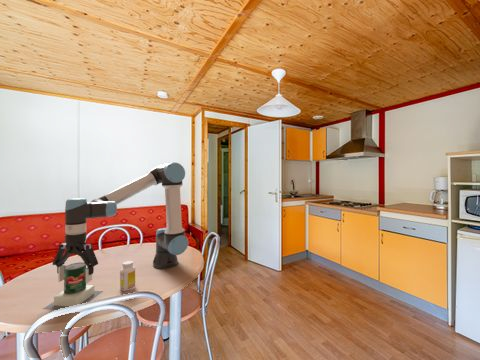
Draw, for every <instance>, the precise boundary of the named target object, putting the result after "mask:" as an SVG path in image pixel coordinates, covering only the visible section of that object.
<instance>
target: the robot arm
mask: <svg viewBox="0 0 480 360" xmlns="http://www.w3.org/2000/svg"><path fill="white" fill-rule="evenodd" d="M185 177H186V169H185V168H184V166H183V165H182V164H181V163H179V162H172V161H171V162H166V163H161V164H159V165H157V166H155V167H154V168H152V169H150V170H148V171H147V172H146V174H145V175H144V174H143V176H140V177H138V178H137V179H136V178H135V179H134V180H132V181H130V182H129V183H126V184H124V185H122V186H119V188H117V189H114V190H112V191H111V192H108V193H107V194H104V195H103V196H100V197H99V198H94V199H92V200H91V201H90V202H89V201H88V199H86V198H85V197H84V198H83V197H81V198H80V197H79V198H77V197H76V198H68V199H67V200H66V201H65V208H64V213H65V214H64V217H65V218H64V219H65V222H64V225H65V226H64V230H65V231H64V233H65V235H64V242H63V243H61V244H60V243H59V245H58V250H57V252H56V254H55V257H54V259H53V261H52V266H56V272H57V282H58V283H60V282H62V281H64V267H65V266H66V264H65V263H66V262H67V260H68V259H69V258H70V256H71V255H78V257H80V258H81V260H82V261H83V263H85V264H86V284H89V283H90V282H91V281H93V274H94V270H95V268H94V267H95V266H97V265H99V261H98V258H97V256H96V254H95V252H94V249H93V247H94V246H93V244H92V243H89V244H86V241H87V220H88V219H100V218H110V217H115V216H116V215H117V212H118V205H119V204H121V203H122V202H124V201H126V200H128V199H130V198H132V197H134V196H135V195H137V194H140V193H141V192H143V191H145V190H147V189H148V188H150V187H152V186H158V185H159V184H161V187H162V188H163V189H164V196H165V197H164V198H165V199H164V200H165V214H166V215H165V217H166V220H165V221H166V227H163V228H162V227H161V228H158V229H157V230H156V231H155V232H156V233H155V255H154V258H153V261H152V267H153V268H156V269H168V268H169V269H170V268H172V267H175V266H176V265H178V263H179V261H178V256H179V255H181V254H184V253H185V251H186V250H187V249H188V247H189V239H188V237H187V236H186V230H185V228H183V224H182V223H183V221H182V204H181V203H182V202H181V198H182V197H181V187H182V186H183V180H184V179H185Z"/></svg>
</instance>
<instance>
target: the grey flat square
mask: <svg viewBox="0 0 480 360" xmlns="http://www.w3.org/2000/svg"><path fill="white" fill-rule="evenodd" d="M103 292H104V291H103V290H94V294H93V295H92V296H91V297H89V298H88V299H86V300H85V301H84V302H82V303H86V302H88V303H90V302H91V301H92V300H94V298H96V297H99V295H100V294H102V293H103ZM82 303H81V304H82ZM65 307H69V306H54V301H53V302H51V303H49V304H48V305H47V306H45V307H43V308H42V310H54V311H55V310H56V309H60V308H65Z"/></svg>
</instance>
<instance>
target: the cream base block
mask: <svg viewBox="0 0 480 360" xmlns="http://www.w3.org/2000/svg"><path fill="white" fill-rule="evenodd" d="M94 291H95V285H93V284H86V289H85V290H83V291H82V292H79V293H76V294H72V295H66V294H64V290H62V291H60V292H59V293H57V294H56V295H54V296H53V302H54V306H73V305H77V304H81V303H82V302H84V301H85V300H86V299H88V298H89V297H91V296H92V295H93V294H94Z"/></svg>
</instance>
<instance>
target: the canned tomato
mask: <svg viewBox="0 0 480 360" xmlns="http://www.w3.org/2000/svg"><path fill="white" fill-rule="evenodd" d="M86 268H87V265H86V264H85V262H84V261H83V262H80V261H79V262H74V263H70V264H68V265H65V267H64V280H63V291H64V294H66V295H72V294H76V293H79V292H82V291H83V290H85V289H86V285H87V283H86Z"/></svg>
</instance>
